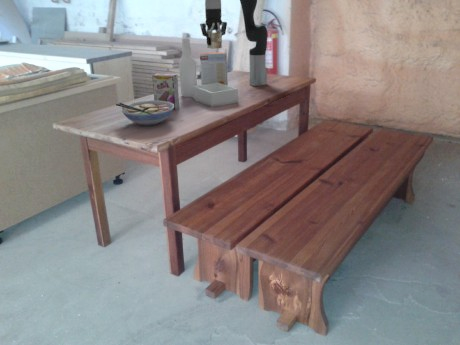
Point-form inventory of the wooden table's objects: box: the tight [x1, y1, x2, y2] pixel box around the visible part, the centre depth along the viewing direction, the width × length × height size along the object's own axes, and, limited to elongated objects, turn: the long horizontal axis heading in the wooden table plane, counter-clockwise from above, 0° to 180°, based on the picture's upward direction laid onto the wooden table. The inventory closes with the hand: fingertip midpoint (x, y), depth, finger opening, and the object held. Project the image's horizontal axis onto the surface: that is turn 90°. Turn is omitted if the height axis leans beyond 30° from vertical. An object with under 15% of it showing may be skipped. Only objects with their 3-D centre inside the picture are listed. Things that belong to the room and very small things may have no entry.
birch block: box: [206, 31, 223, 49], centre depth 220 cm, size 5×5×7 cm
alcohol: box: [178, 37, 198, 98], centre depth 238 cm, size 9×9×30 cm
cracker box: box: [199, 51, 229, 86], centre depth 248 cm, size 14×6×21 cm, turn 84°
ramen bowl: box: [115, 99, 174, 126], centre depth 196 cm, size 25×23×8 cm
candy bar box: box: [152, 73, 180, 111], centre depth 217 cm, size 11×5×16 cm, turn 71°
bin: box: [192, 83, 239, 108], centre depth 230 cm, size 15×19×7 cm
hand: (214, 44), depth 220 cm, fingers closed on birch block, 5 cm apart
